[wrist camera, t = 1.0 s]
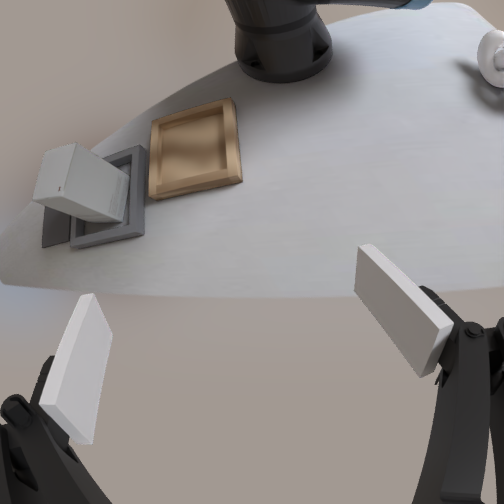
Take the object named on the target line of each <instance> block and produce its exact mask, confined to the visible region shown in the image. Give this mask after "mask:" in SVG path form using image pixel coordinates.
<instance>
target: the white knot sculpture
mask: <svg viewBox="0 0 504 504" xmlns="http://www.w3.org/2000/svg"><path fill="white" fill-rule="evenodd" d="M500 47H503V48H504V32H503V31H500V30H493V31H490V32H488V33H487V34H486V35H485V36H484V37H483V38H482V40H481V41H480V44H479V47H478V52H477V60H478V66H479V69H480V72H481V73H482V75H483V77H484V78H485V79H486V81H488V82H489V83H490V84H491V85H493V86H495V87H499V88H504V50H500V51H498V52H497V53H495V52H496V50H497V49H498V48H500ZM497 70H498V71H497Z"/></svg>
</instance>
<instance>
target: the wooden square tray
mask: <svg viewBox="0 0 504 504" xmlns="http://www.w3.org/2000/svg"><path fill="white" fill-rule="evenodd" d="M240 182H243V180H242V169H241V159H240V149H239V139H238V128H237V118H236V108H235V104H234V102H233V100H232V99H231V97H230V98H226V99H222V100H218V101H214V102H211V103H207V104H203V105H200V106H197V107H193V108H190V109H187V110H183V111H180V112H177V113H174V114H171V115H168V116H165V117H162V118H159V119H156V120H153V121H152V128H151V143H150V163H149V197H151V198H153V199H154V200H156V201H159V200H163V199H167V198H171V197H175V196H180V195H184V194H188V193H193V192H197V191H202V190H206V189H211V188H216V187H220V186H225V185H230V184H235V183H240Z"/></svg>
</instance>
